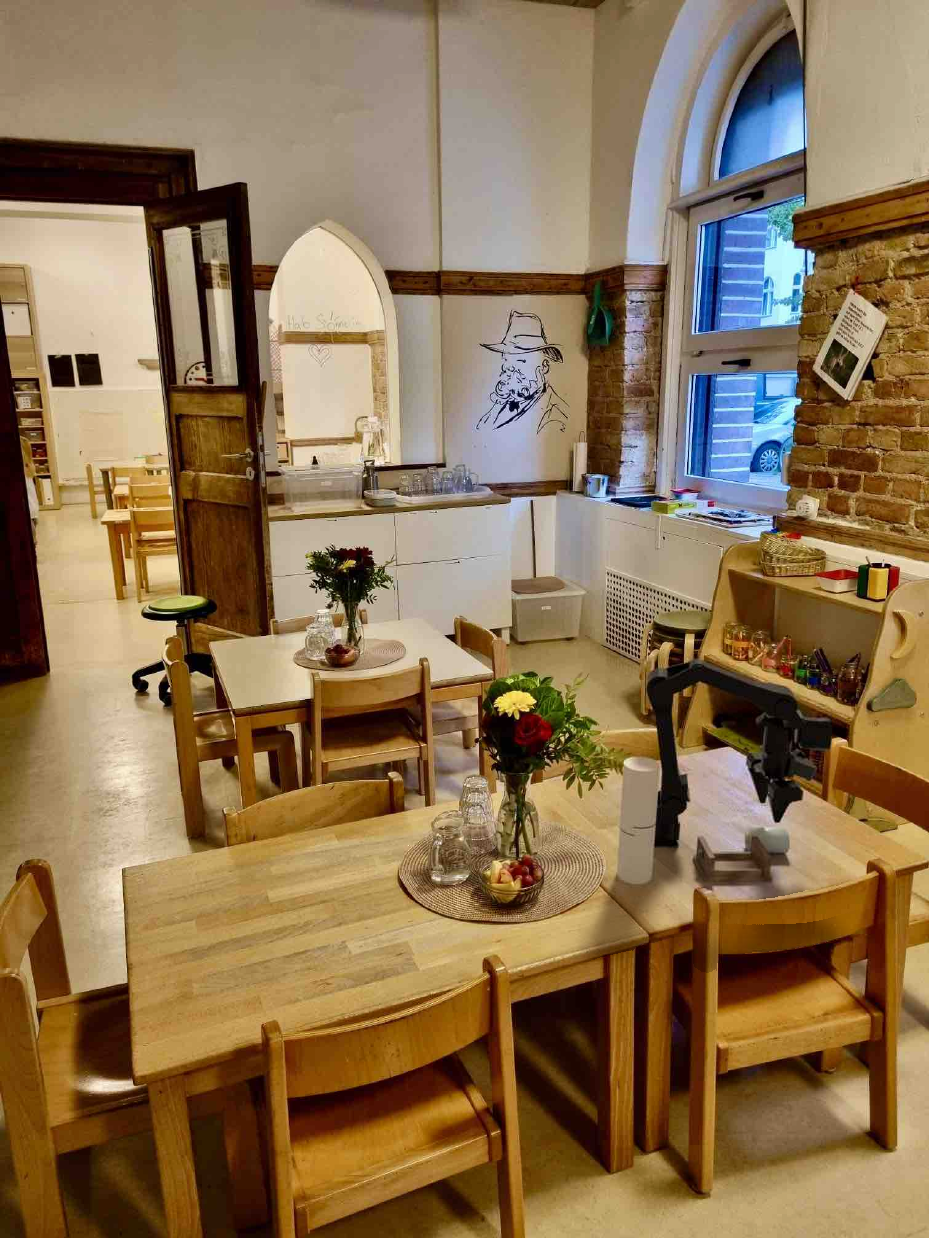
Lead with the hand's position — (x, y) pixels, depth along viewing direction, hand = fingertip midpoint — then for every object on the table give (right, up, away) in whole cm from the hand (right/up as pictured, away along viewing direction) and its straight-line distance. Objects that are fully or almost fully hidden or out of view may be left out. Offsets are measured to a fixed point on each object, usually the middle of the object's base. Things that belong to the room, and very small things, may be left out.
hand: (769, 812), depth 199 cm
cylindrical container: (-31, -12, -8) cm, 34 cm away
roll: (0, -9, +2) cm, 9 cm away
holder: (-10, -11, -6) cm, 16 cm away
